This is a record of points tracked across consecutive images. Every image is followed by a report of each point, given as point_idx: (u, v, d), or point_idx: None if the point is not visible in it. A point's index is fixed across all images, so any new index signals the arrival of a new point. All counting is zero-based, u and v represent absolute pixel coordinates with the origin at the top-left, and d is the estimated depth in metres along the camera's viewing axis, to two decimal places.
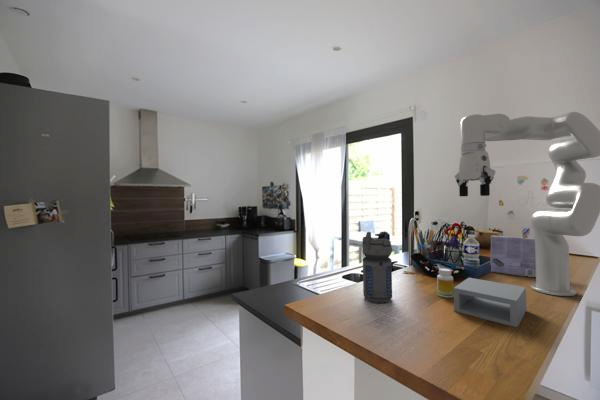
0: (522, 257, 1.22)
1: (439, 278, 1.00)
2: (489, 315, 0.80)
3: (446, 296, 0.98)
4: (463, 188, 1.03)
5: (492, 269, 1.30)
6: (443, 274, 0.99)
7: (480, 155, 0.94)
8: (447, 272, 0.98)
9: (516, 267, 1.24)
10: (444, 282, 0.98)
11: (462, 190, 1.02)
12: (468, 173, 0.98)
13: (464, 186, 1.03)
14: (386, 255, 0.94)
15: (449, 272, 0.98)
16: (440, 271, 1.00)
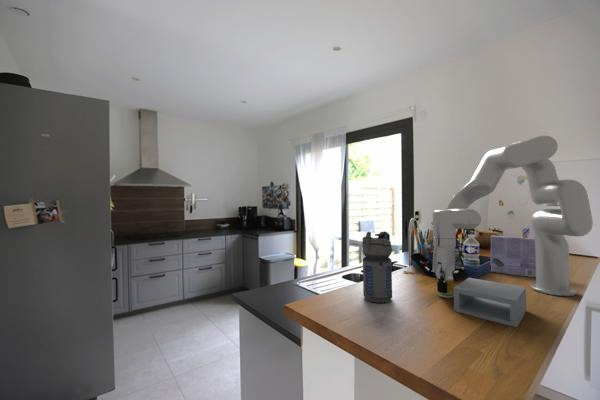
0: (522, 257, 1.22)
1: None
2: (489, 315, 0.80)
3: (446, 296, 0.98)
4: None
5: (492, 269, 1.30)
6: None
7: None
8: None
9: (516, 267, 1.24)
10: None
11: None
12: (451, 266, 0.99)
13: None
14: (386, 255, 0.94)
15: None
16: None
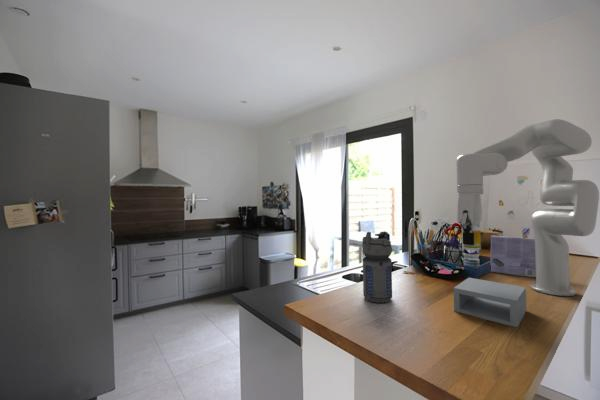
0: (522, 257, 1.22)
1: None
2: (489, 315, 0.80)
3: (473, 248, 0.89)
4: None
5: (492, 269, 1.30)
6: None
7: None
8: None
9: (516, 268, 1.24)
10: None
11: None
12: (478, 216, 0.89)
13: None
14: (386, 255, 0.94)
15: None
16: None
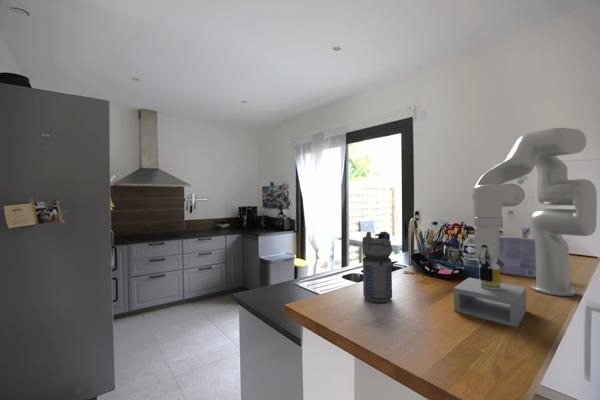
0: (522, 257, 1.22)
1: None
2: (489, 315, 0.80)
3: (492, 288, 0.83)
4: None
5: None
6: (488, 262, 0.85)
7: None
8: (493, 260, 0.84)
9: (516, 268, 1.24)
10: None
11: None
12: (497, 250, 0.84)
13: None
14: (386, 255, 0.94)
15: (495, 260, 0.84)
16: None
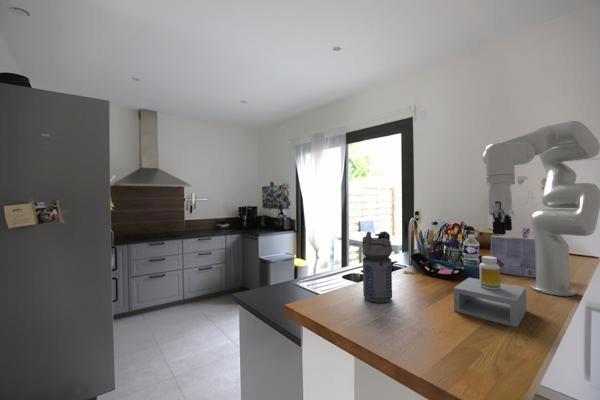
0: (522, 257, 1.22)
1: (483, 267, 0.85)
2: (489, 315, 0.80)
3: (492, 288, 0.83)
4: None
5: None
6: (488, 262, 0.85)
7: None
8: (493, 260, 0.84)
9: (516, 267, 1.24)
10: (490, 272, 0.84)
11: None
12: (510, 207, 0.87)
13: None
14: (386, 255, 0.94)
15: (495, 260, 0.84)
16: (484, 259, 0.86)
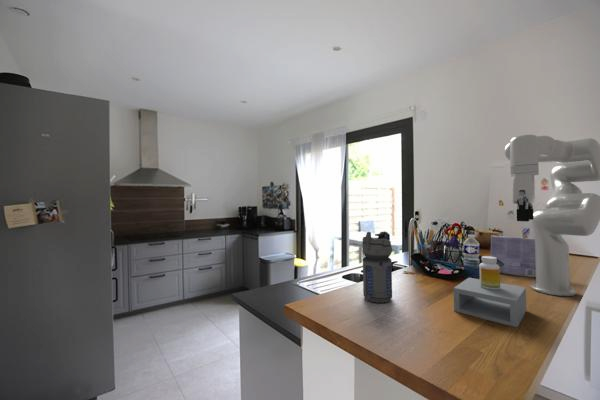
0: (522, 257, 1.22)
1: (483, 267, 0.85)
2: (489, 315, 0.80)
3: (492, 288, 0.83)
4: None
5: None
6: (488, 262, 0.85)
7: None
8: (493, 260, 0.84)
9: (516, 268, 1.24)
10: (489, 272, 0.84)
11: None
12: (533, 196, 0.91)
13: None
14: (386, 255, 0.94)
15: (495, 260, 0.84)
16: (484, 259, 0.86)
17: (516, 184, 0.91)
